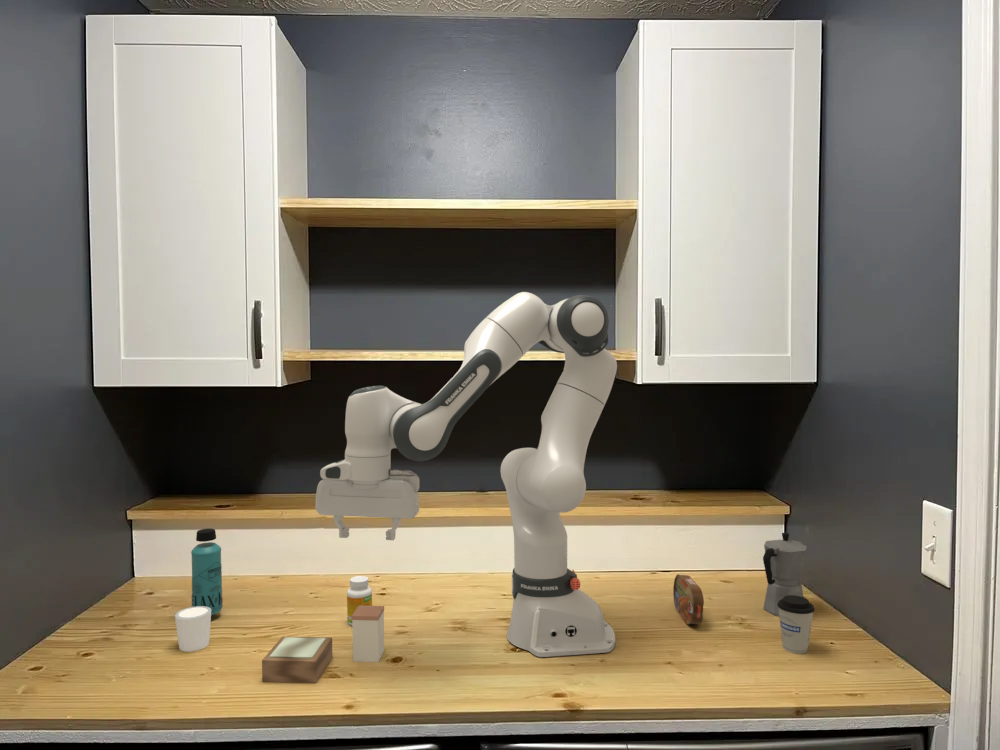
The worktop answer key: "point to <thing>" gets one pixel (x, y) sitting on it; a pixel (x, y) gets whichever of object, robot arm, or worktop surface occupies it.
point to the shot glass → (193, 628)
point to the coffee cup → (795, 623)
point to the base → (297, 659)
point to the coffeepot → (783, 570)
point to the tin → (688, 599)
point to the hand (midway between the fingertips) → (367, 538)
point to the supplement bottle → (358, 595)
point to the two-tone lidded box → (368, 633)
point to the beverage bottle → (207, 572)
